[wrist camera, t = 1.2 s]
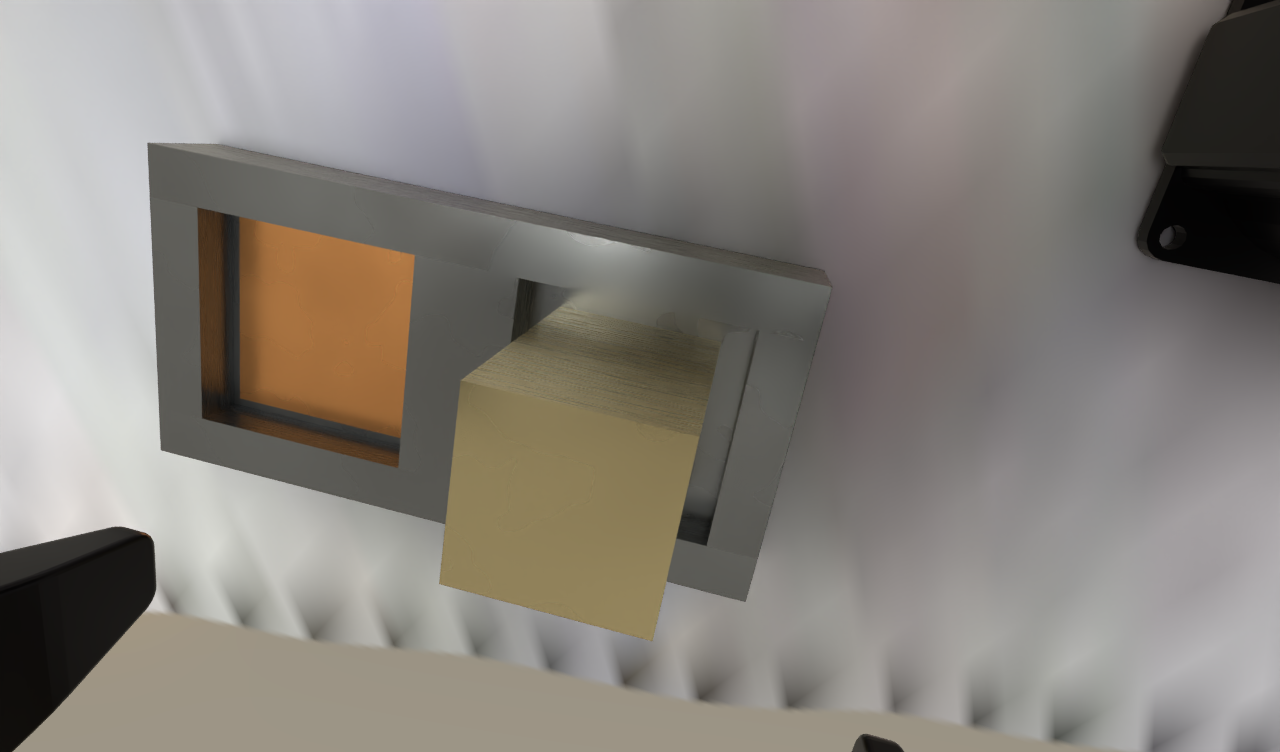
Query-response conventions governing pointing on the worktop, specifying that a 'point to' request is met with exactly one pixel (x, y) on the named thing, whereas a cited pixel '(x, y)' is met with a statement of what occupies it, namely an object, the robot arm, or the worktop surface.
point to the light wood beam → (577, 468)
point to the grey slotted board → (442, 334)
